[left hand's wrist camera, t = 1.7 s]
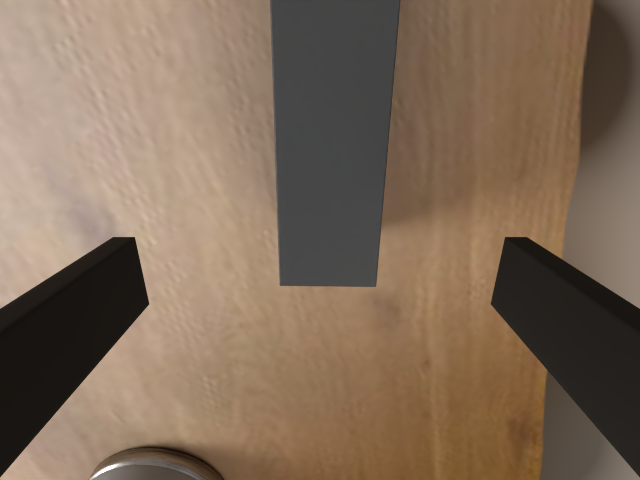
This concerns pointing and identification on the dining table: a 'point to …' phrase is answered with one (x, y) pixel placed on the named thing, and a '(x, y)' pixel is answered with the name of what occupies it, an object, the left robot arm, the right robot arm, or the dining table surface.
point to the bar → (331, 135)
